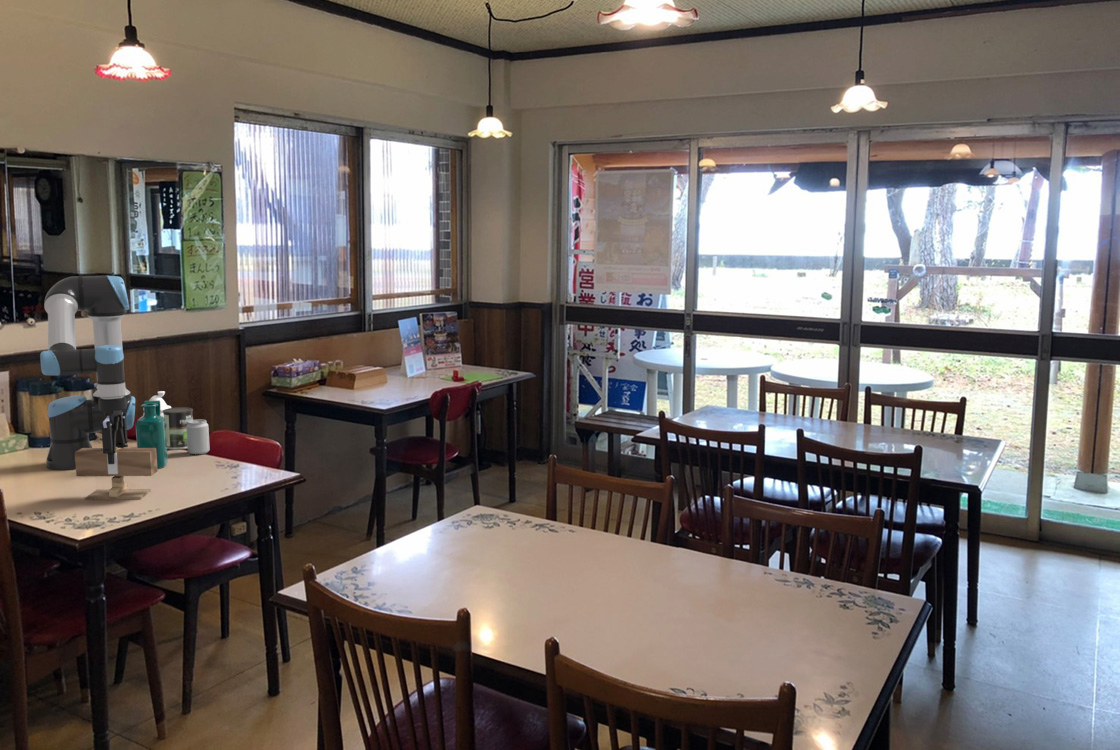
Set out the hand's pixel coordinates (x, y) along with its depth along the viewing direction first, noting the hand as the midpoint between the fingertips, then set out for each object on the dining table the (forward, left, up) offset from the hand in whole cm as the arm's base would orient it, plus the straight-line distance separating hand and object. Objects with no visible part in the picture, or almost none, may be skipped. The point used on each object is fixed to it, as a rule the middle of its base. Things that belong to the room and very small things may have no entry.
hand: (117, 471), depth 271 cm
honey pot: (-77, -15, -8) cm, 79 cm away
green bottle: (-35, -2, -8) cm, 36 cm away
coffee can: (-62, -2, -8) cm, 62 cm away
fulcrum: (0, 0, -8) cm, 8 cm away
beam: (0, 0, -1) cm, 1 cm away
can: (-52, +8, -8) cm, 53 cm away
